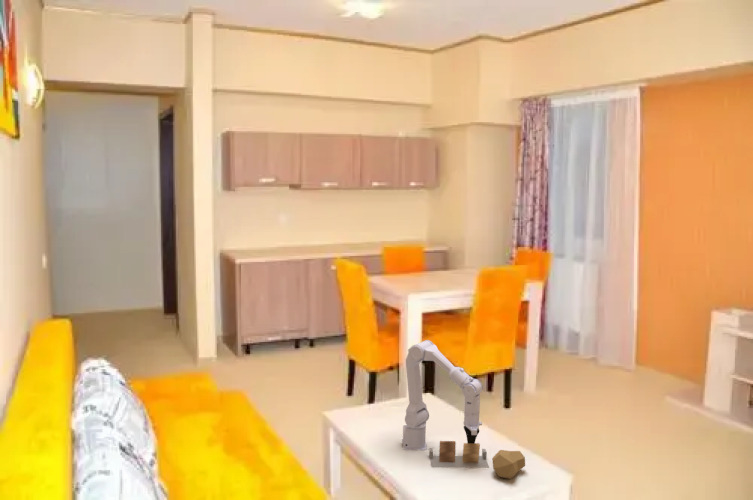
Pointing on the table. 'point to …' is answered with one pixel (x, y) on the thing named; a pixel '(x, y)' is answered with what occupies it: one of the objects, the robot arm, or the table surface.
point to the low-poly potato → (508, 463)
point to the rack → (459, 461)
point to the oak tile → (471, 452)
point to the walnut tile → (447, 451)
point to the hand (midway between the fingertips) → (470, 445)
